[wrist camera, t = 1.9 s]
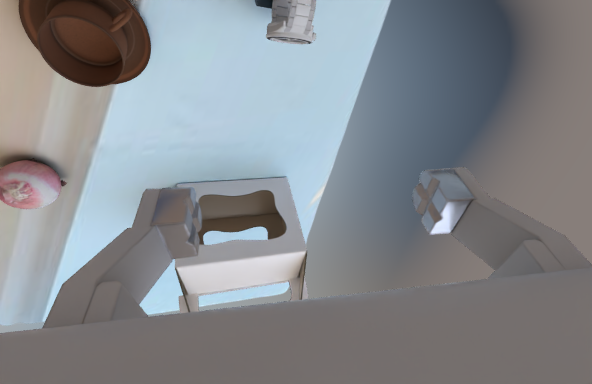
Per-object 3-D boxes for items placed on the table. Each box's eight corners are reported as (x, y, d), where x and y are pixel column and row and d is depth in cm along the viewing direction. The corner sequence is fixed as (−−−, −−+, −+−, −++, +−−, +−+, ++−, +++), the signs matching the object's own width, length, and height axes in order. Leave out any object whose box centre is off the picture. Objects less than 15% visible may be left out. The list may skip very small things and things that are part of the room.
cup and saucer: (43, -69, 27) (22, -49, 24) (170, 20, 35) (168, 45, 32) (11, 35, 33) (-10, 64, 29) (127, 92, 41) (121, 120, 37)
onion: (55, 151, 46) (42, 187, 42) (74, 184, 52) (65, 218, 47) (-10, 152, 44) (-31, 191, 39) (18, 186, 49) (2, 223, 45)
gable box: (183, 221, 67) (183, 360, 50) (175, 183, 57) (171, 340, 40) (280, 212, 73) (308, 334, 56) (288, 176, 63) (325, 311, 46)
